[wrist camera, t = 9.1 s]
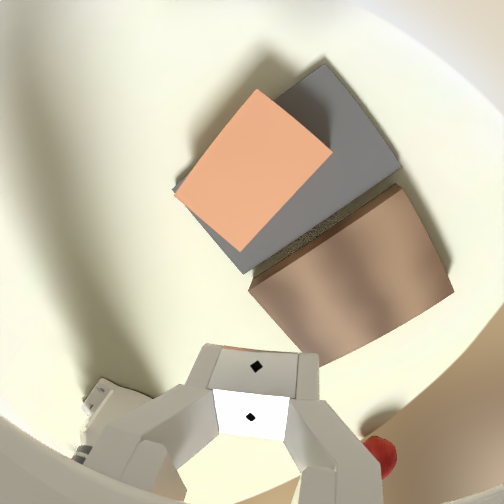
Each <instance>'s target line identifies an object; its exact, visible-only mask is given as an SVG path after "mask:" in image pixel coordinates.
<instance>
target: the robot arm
mask: <svg viewBox="0 0 504 504" xmlns="http://www.w3.org/2000/svg"><path fill="white" fill-rule="evenodd" d="M82 409H83V410H84V411H85V413H86V414H87V415H88V416H89V417H88V419H87V420H86V422H85V423H84V425H83V426H82V428H81V429H80V437H81V446H79V447H78V449H77V451H76V452H75V454H74V456H73V457H72V458H71V459H70V458H68V457H66V456H64V455H62V454H61V453H59V452H57V451H55V450H54V449H52V448H50V447H48V446H46V445H45V444H43V443H42V442H40V441H38V440H37V439H35V438H34V437H32V436H30V435H29V434H27V433H26V432H24V431H23V430H21V429H20V428H18V427H17V426H15V425H14V424H13V423H11V422H10V421H8V420H7V419H6V418H4V417H3V416H1V415H0V504H189V503H185V502H183V501H184V498H185V495H186V492H187V489H186V487H185V485H184V484H183V482H182V480H181V478H180V476H179V474H178V472H177V469H178V468H180V467H181V466H182V465H183V464H184V463H186V462H187V461H188V460H189V459H191V458H192V457H193V456H194V455H195V454H197V453H198V452H199V451H200V450H201V449H202V448H204V447H205V446H206V445H207V444H208V443H209V442H211V441H212V440H213V439H214V438H215V437H216V436H217V435H218V434H219V432H222V433H230V434H238V435H247V436H255V437H262V438H271V439H280V440H283V442H284V444H285V446H286V448H287V449H288V451H289V453H290V455H291V457H292V458H293V460H294V462H295V464H296V466H297V467H298V469H299V471H300V473H301V476H300V479H299V482H298V485H297V488H296V491H295V494H294V496H293V499H292V502H291V504H383V491H382V478H381V467H380V463H379V462H378V461H377V460H376V458H375V457H374V456H373V455H372V454H371V453H370V452H369V451H368V449H367V448H366V447H365V446H364V445H363V444H362V443H361V442H360V440H359V439H358V438H357V437H356V436H355V435H354V434H353V432H352V431H351V430H350V429H349V428H348V427H347V425H346V424H345V423H344V422H343V421H342V420H341V418H340V417H339V416H338V415H337V414H336V413H335V411H334V410H333V409H332V408H331V407H330V406H329V404H328V403H327V402H326V401H325V400H319V355H318V353H299V354H298V353H293V352H277V351H264V350H254V349H246V348H238V347H231V346H221V345H215V344H208V343H206V344H205V345H204V346H202V348H201V351H200V353H199V355H198V357H197V359H196V361H195V364H194V366H193V368H192V370H191V372H190V374H189V377H188V379H187V381H186V383H185V385H182V384H179V385H177V386H175V387H173V388H172V389H170V390H168V391H167V392H165V393H163V394H162V395H160V396H158V397H156V398H155V399H152V398H150V397H148V396H146V395H144V394H141V393H139V392H136V391H133V390H130V389H126V388H123V387H120V386H117V385H116V384H114V383H112V382H110V381H108V380H106V379H104V378H101V379H100V380H99V381H98V382H97V384H96V385H95V387H94V388H93V390H92V391H91V393H90V394H89V396H88V397H87V399H86V400H85V402H84V403H83V405H82ZM442 504H504V483H502V484H500V485H497V486H495V487H492V488H490V489H487V490H484V491H482V492H479V493H476V494H473V495H470V496H467V497H464V498H460V499H457V500H453V501H450V502H446V503H442Z"/></svg>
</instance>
